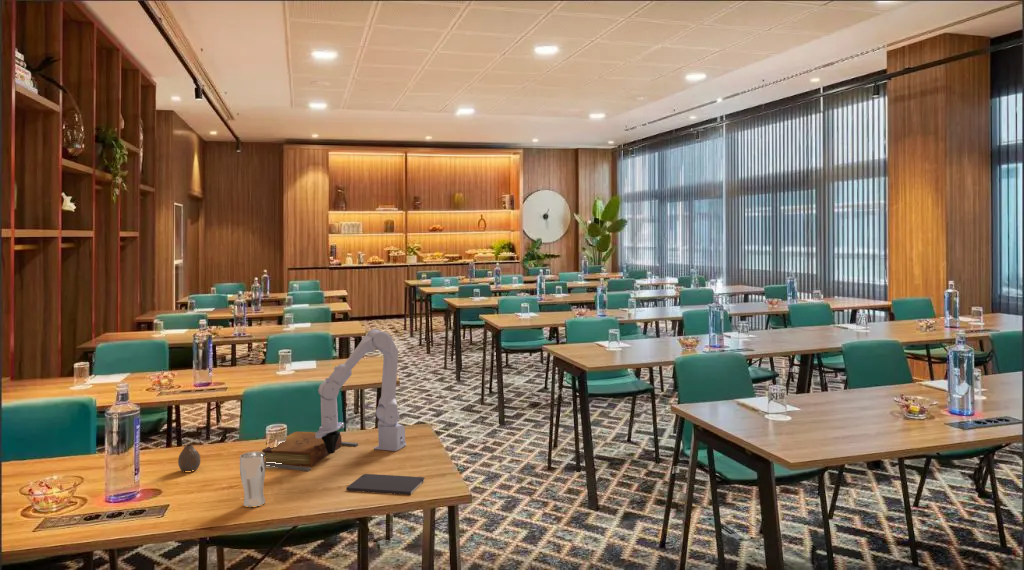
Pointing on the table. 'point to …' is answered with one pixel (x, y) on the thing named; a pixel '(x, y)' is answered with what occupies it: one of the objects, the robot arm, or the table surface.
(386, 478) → the notebook
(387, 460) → the table surface
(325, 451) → the diary
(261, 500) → the beer glass
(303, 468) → the flat grey piece
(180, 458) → the grey teardrop shape
